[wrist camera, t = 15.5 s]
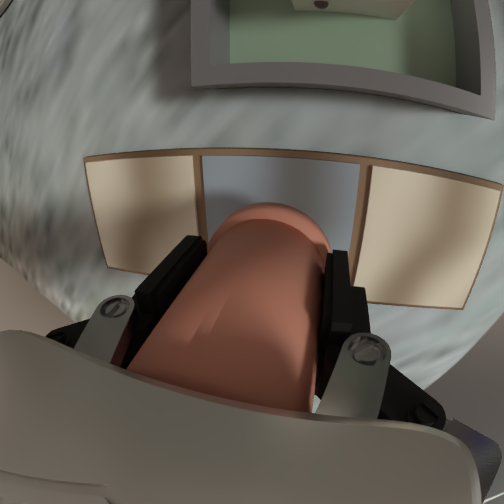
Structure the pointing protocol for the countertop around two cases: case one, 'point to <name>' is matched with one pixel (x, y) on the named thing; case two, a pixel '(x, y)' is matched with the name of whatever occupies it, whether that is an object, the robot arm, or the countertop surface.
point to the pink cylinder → (247, 313)
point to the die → (356, 7)
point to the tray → (350, 51)
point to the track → (309, 202)
